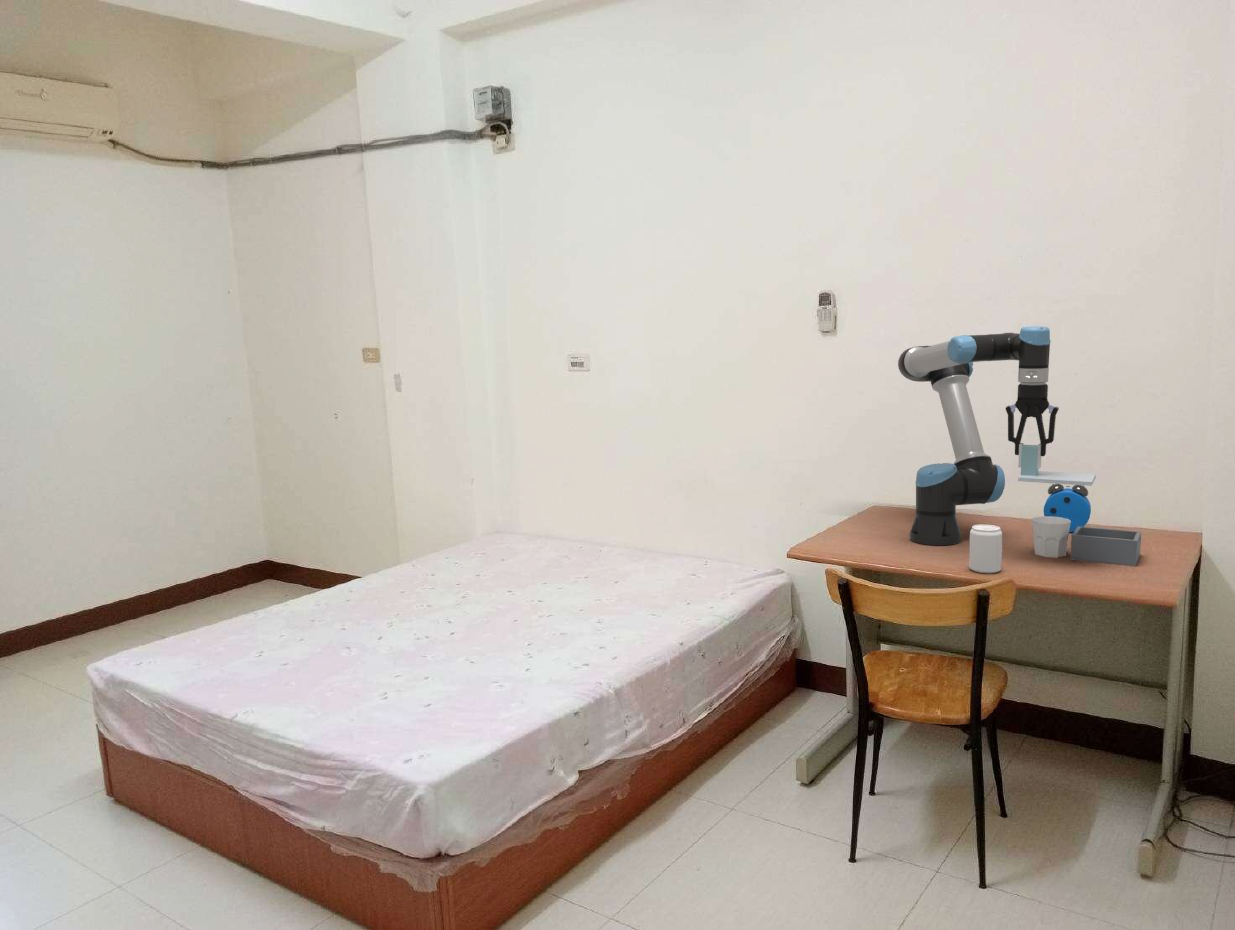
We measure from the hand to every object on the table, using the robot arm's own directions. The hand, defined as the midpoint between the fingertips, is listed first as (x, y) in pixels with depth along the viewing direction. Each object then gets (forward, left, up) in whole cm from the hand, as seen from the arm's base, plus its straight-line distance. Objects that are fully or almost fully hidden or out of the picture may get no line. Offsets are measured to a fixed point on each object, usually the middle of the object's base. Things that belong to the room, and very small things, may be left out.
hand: (1029, 467), depth 252 cm
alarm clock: (+5, +39, -27) cm, 47 cm away
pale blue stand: (+7, 0, -3) cm, 8 cm away
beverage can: (-7, -17, -27) cm, 32 cm away
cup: (+5, +8, -27) cm, 28 cm away
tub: (+19, +10, -26) cm, 34 cm away
